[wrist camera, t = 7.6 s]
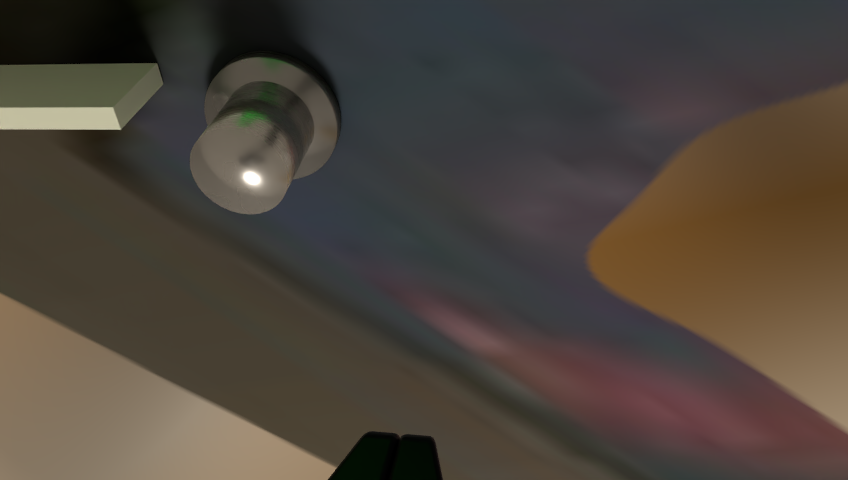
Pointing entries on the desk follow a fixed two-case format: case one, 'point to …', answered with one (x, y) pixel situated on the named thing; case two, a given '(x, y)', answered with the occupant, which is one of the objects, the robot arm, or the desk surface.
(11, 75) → the white u-shaped handle
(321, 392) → the desk surface
